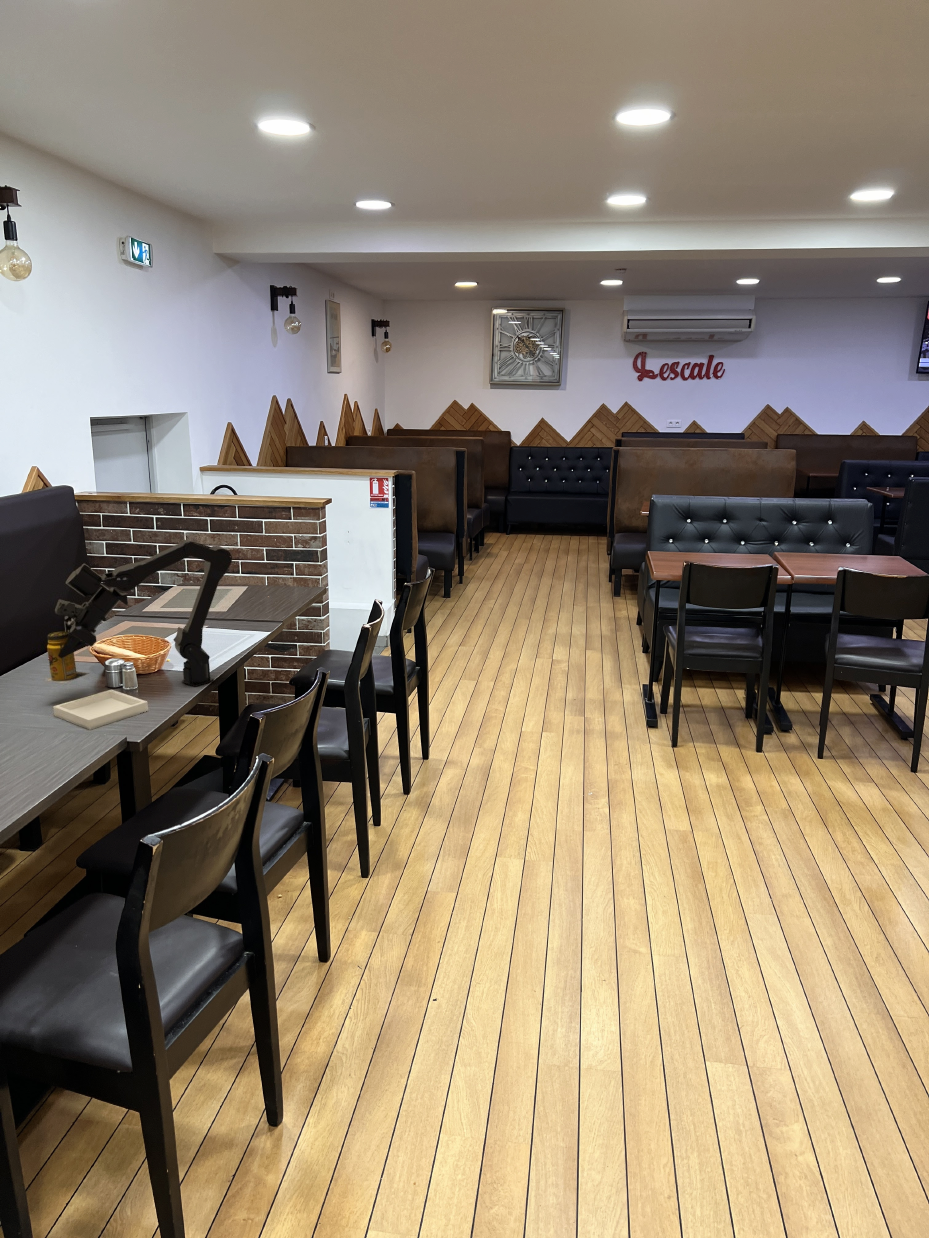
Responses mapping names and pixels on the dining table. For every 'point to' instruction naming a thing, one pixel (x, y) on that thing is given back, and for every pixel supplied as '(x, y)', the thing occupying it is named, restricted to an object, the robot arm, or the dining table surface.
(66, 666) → the condiment
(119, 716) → the tray
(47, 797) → the dining table surface
